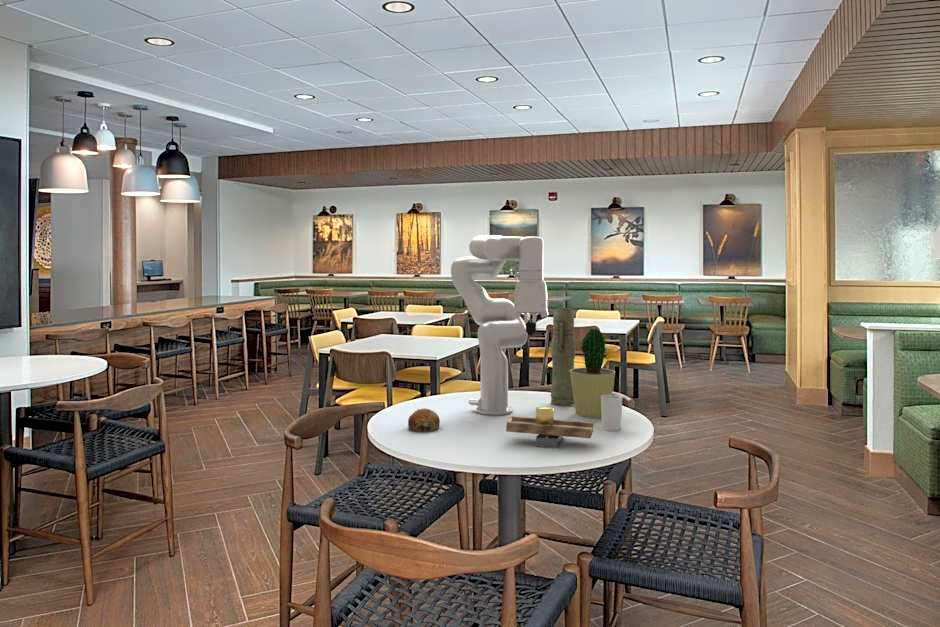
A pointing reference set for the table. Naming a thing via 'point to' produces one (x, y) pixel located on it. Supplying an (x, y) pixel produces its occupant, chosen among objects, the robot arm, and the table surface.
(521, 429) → the beam
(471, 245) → the robot arm
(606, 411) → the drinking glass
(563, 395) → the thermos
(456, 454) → the table surface
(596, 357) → the potted cactus
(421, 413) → the bread roll
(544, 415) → the rider
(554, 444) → the fulcrum
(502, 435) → the table surface
